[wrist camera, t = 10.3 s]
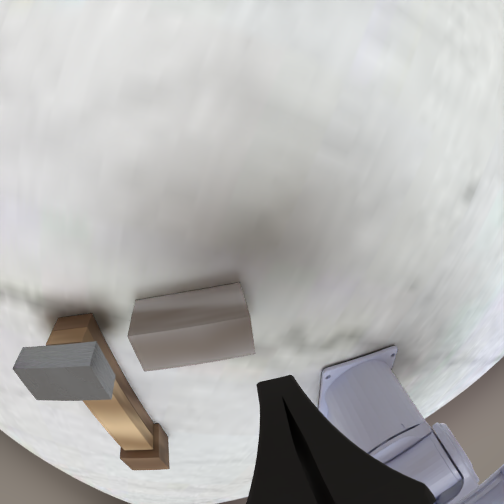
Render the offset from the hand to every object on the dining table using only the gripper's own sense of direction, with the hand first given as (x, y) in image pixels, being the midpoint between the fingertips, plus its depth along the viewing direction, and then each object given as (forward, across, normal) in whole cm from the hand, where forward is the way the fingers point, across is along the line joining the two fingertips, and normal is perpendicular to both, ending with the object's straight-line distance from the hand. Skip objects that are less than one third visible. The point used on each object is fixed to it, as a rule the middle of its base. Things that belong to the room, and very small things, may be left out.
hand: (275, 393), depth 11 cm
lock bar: (+6, +12, +2) cm, 13 cm away
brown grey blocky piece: (+9, +7, +9) cm, 15 cm away
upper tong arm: (+8, +12, +8) cm, 16 cm away
